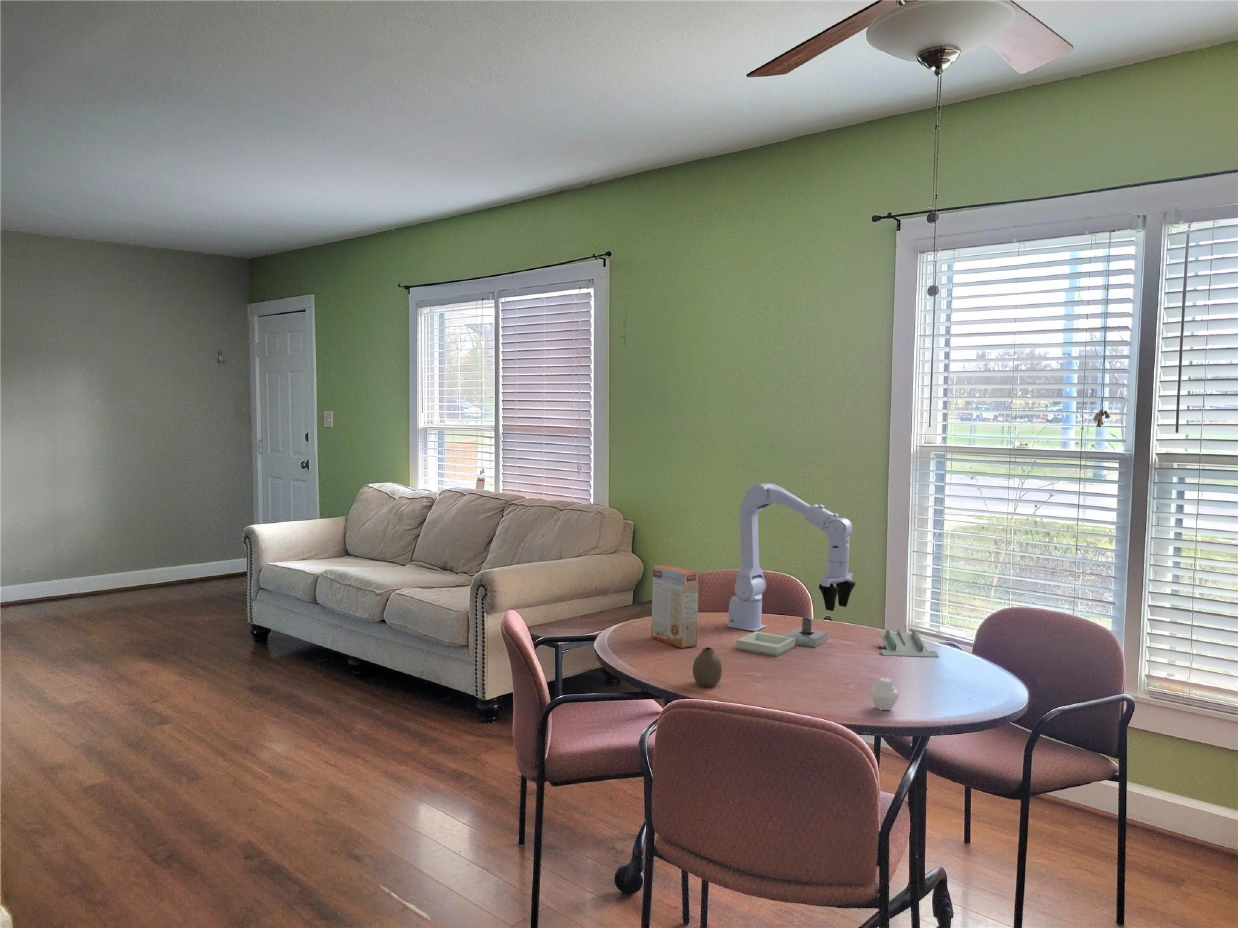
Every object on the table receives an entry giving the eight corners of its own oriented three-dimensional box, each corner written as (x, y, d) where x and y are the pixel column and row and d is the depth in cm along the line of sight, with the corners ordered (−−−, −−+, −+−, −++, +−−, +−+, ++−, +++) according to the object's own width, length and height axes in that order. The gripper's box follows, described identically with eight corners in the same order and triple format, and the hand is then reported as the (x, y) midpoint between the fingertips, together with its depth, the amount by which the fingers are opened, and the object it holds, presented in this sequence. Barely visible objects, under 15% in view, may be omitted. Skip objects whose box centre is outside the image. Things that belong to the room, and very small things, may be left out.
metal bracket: (872, 624, 247) (925, 626, 247) (869, 642, 249) (922, 644, 249) (885, 652, 234) (941, 653, 233) (882, 670, 235) (938, 672, 235)
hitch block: (785, 641, 247) (785, 633, 247) (797, 635, 254) (798, 627, 254) (815, 647, 242) (815, 638, 242) (827, 640, 249) (827, 632, 249)
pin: (800, 641, 248) (801, 617, 247) (803, 639, 250) (804, 615, 250) (808, 643, 246) (809, 618, 246) (812, 641, 249) (813, 617, 248)
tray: (736, 648, 239) (736, 639, 238) (755, 639, 248) (755, 631, 248) (776, 656, 232) (777, 647, 232) (794, 647, 242) (795, 638, 242)
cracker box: (698, 646, 240) (700, 571, 239) (680, 649, 237) (683, 573, 235) (667, 635, 252) (669, 563, 250) (650, 637, 248) (652, 565, 247)
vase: (713, 691, 202) (714, 654, 201) (687, 685, 205) (688, 649, 205) (726, 683, 207) (727, 647, 207) (700, 678, 211) (701, 643, 211)
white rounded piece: (867, 710, 191) (869, 679, 190) (870, 702, 196) (871, 672, 196) (897, 715, 189) (898, 683, 188) (899, 706, 194) (900, 675, 194)
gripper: (838, 565, 238) (836, 614, 238) (863, 559, 248) (861, 606, 249) (815, 562, 242) (813, 610, 243) (840, 556, 253) (838, 602, 254)
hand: (836, 608), depth 247 cm, fingers open, 7 cm apart
